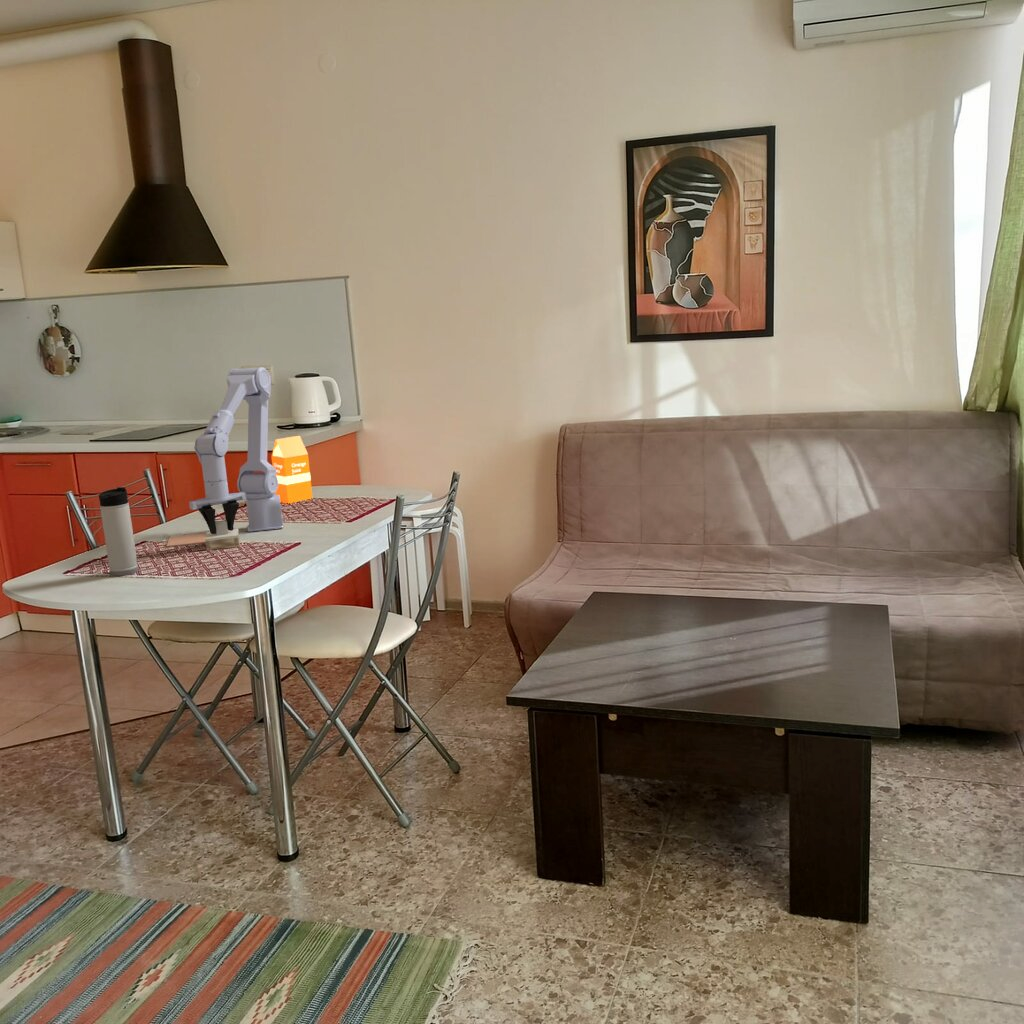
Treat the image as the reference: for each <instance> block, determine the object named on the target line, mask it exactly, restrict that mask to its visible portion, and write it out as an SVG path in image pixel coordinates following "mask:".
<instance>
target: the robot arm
mask: <svg viewBox="0 0 1024 1024" xmlns="http://www.w3.org/2000/svg"><path fill="white" fill-rule="evenodd" d="M271 381H272V377H271V375H270V373H269V372H268V370H267V369H266V368H265V367H262V366H261V367H260V366H259V367H250V368H249V367H247V368H235V367H234V368H231V369H230V371H229V372H228V376H227V378H226V384H227V390H226V394H225V396H224V398H223V402H222V404H221V407H220V409H218V410H215V411H214V412H213V414H212V415H211V418H210V420H209V422H208V424H207V427H205V430H204V432H203V433H201V434H200V435H199V436H197V437H196V439H195V443H194V451H195V453H196V455H197V457H198V461H199V463H200V464H201V467H202V468H201V469H202V476H203V477H202V478H203V484H204V485H203V487H204V493H205V497H204V498H199V499H196V500H191V501H189V502H188V503H189V509H190V510H191V511H192V510H193V511H195V510H198V512H199V513H200V514H201V516H202V518H203V519H204V521H205V522H206V524H207V528H208V529H209V532H210V533H211V534H216V524H215V521H216V509H215V508H213V506H218V505H221V506H222V508H223V512H224V518H225V520H227V526H228V530H230V531H232V530H233V529H234V525H235V519H236V515H237V513H238V510H239V507H240V502H239V501H245V502H246V512H247V513H246V514H247V520H248V524H247V532H249V533H250V532H258V531H259V532H260V531H269V530H276V529H277V530H278V529H283V528H284V514H283V513H282V504H281V502H280V495H276V491H277V488H278V480H277V476H276V469H275V468H274V467H273V466H272V464H270V463H269V462H268V432H269V400H270V399H271V393H272V392H271V391H272V390H271V387H272V383H271ZM243 400H244V401H245V402H246V404H248V423H247V424H248V427H247V461H246V462H245V463H244V464H242V465H241V466H240V467H239V472H238V473H239V474H238V478H237V482H236V486H237V490H238V492H233V493H229V492H230V491H229V487H228V486H229V485H228V477H227V467H226V460H225V455H226V453H227V452H228V451H229V439H230V438H229V436H230V433H231V431H232V429H233V427H234V425H235V423H236V420H235V417H234V414H235V413H236V412H237V409H238V408H239V406H240V404H241V402H242V401H243Z"/></svg>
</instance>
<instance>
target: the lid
mask: <svg viewBox="0 0 1024 1024" xmlns="http://www.w3.org/2000/svg"><path fill="white" fill-rule="evenodd" d="M215 524H216V534H211V533H210V531H207V532H206V533H207V534H206V538H205V541H211V540H220V539H230V538H238V532H239V528H233V530H232V531H230V530H228V526H227V520H226V519H223V520H215ZM239 533H240V532H239Z"/></svg>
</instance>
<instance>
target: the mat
mask: <svg viewBox="0 0 1024 1024" xmlns="http://www.w3.org/2000/svg"><path fill="white" fill-rule="evenodd" d="M206 534H207V532H205V533H204V532H203V533H195V534H185V535H176V536H169V538H168V541H167V543H166V546H165V547H166V548H174V547H176V548H177V547H182V546H193V545H202V544H206V541H205V538H206Z"/></svg>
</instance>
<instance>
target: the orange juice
mask: <svg viewBox="0 0 1024 1024" xmlns="http://www.w3.org/2000/svg"><path fill="white" fill-rule="evenodd" d="M273 445H274V446H273V450H272V453H271V463H272V464H271V465H272V466H273V467H274V468H275V469H276V476H277V480H278V488H277V491H276V493H275V495H280V503H283V504H287V503H288V504H289V503H290V504H294V503H293V502H295V503H298V501H300V502H303V501H302V500H305V501H308V500H307V499H310V500H312V499H311V498H313V491H312V489H313V488H312V477H311V471H310V460H309V453H308V451H307V449H306V447H305V444H304V443H303V440H302V437H301V435H298V436H297V435H295V436H289V437H283V438H277V439H275V441H274V444H273Z"/></svg>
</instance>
